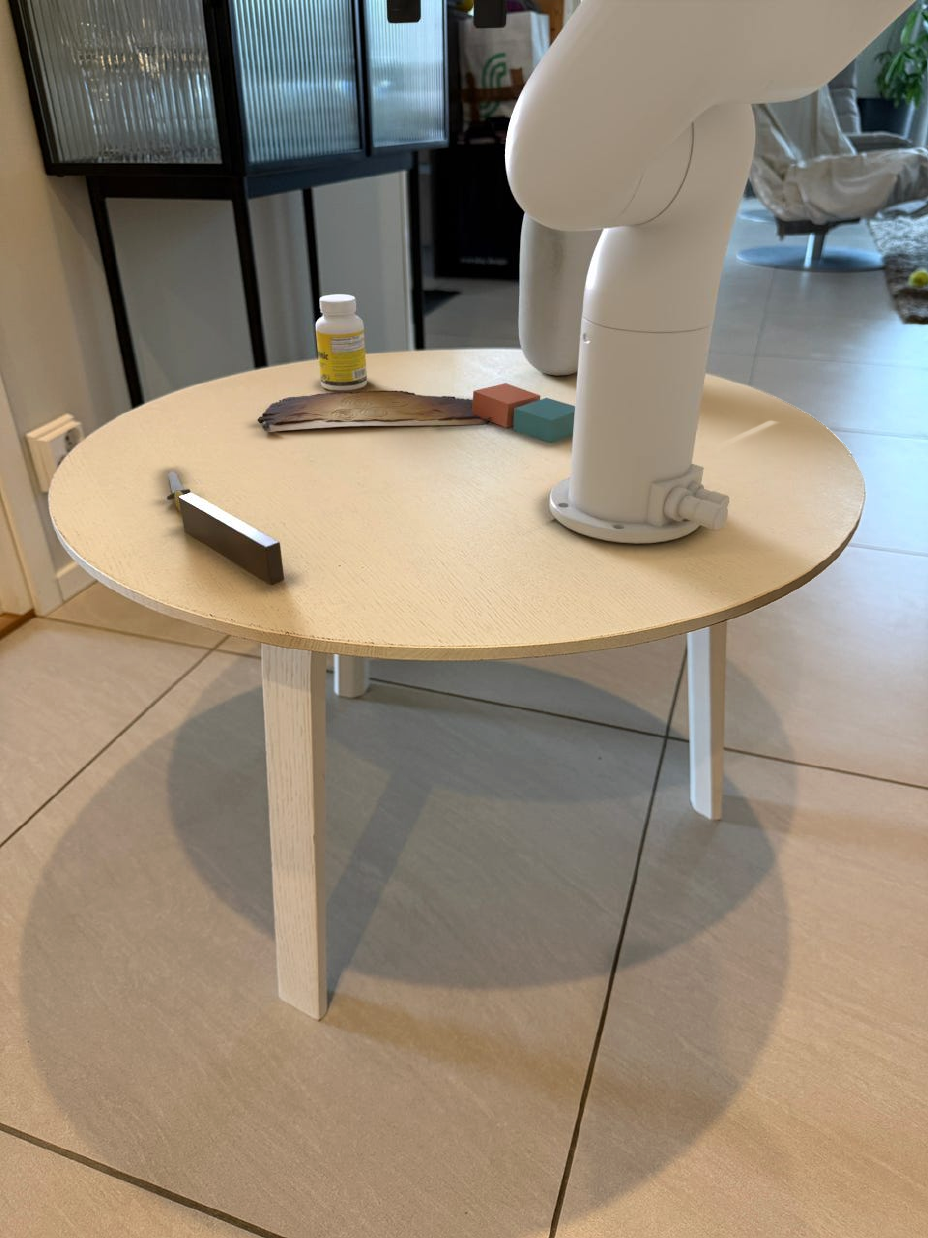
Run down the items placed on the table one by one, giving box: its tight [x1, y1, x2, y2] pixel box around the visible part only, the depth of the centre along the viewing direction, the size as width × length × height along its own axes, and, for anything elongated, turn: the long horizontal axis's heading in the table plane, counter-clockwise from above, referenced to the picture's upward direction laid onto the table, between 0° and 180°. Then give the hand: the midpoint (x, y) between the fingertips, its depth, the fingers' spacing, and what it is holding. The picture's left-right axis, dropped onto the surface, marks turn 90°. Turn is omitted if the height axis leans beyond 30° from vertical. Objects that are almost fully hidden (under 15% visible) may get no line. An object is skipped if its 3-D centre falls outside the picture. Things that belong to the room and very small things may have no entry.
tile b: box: [472, 382, 541, 429], centre depth 91 cm, size 5×5×2 cm
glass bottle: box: [518, 211, 604, 377], centre depth 99 cm, size 10×10×28 cm
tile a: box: [512, 397, 575, 444], centre depth 88 cm, size 5×5×2 cm
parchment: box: [257, 390, 491, 433], centre depth 92 cm, size 25×10×1 cm, turn 98°
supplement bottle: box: [315, 293, 368, 391], centre depth 99 cm, size 5×5×10 cm
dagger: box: [166, 470, 191, 514], centre depth 75 cm, size 11×1×2 cm
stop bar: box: [178, 492, 285, 586], centre depth 65 cm, size 12×1×3 cm, turn 45°
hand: (448, 25), depth 70 cm, fingers open, 9 cm apart
